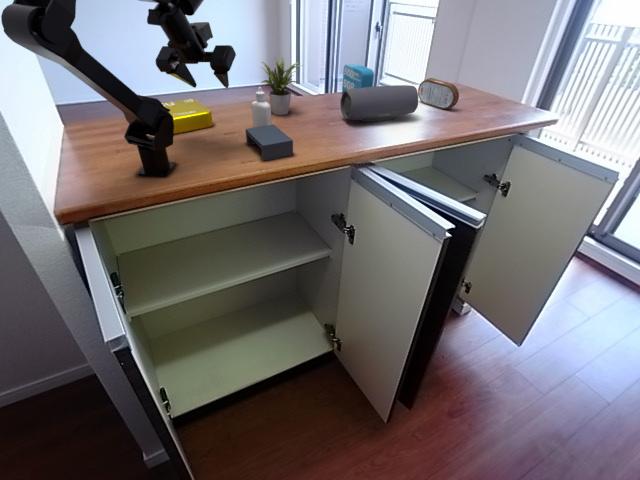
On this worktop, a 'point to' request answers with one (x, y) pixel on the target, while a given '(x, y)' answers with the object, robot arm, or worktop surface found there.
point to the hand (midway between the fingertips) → (211, 86)
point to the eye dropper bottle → (261, 110)
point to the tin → (438, 93)
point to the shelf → (270, 141)
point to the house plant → (279, 87)
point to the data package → (357, 77)
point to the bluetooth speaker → (378, 102)
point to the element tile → (189, 115)
